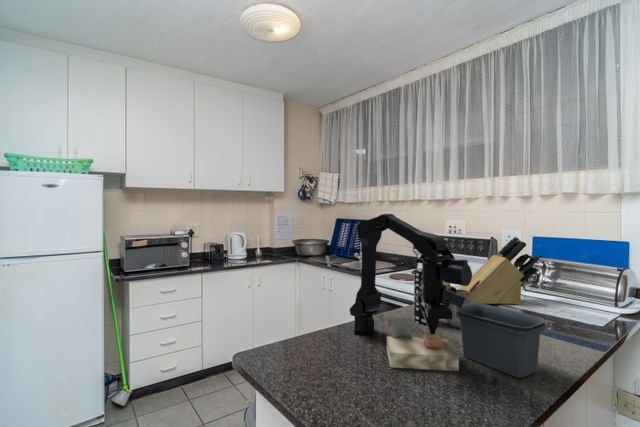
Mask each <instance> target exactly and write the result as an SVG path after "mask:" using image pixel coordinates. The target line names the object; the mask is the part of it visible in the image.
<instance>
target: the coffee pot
mask: <svg viewBox="0 0 640 427" xmlns="http://www.w3.org/2000/svg"><path fill="white" fill-rule="evenodd" d="M480 282H481V281H477V283H475V285H473V287H472V288H471V289H470V291H467V290H459V288H458V289H457V288H456V290H457V293H459V294H461V295H463V296H464V297H465V300H464V302H463V305H467V304H471V302H470V300H469V298H468V297H469V295H470V293H471V292H472V291H473V290H474V289H475V288H476V287H477V285H480V284H479V283H480ZM482 284H483V283H482ZM463 305H462V306H463ZM447 307H448V308H449V309H450V310H451V311H452V319H445V320H446V322H447V323H448V324H449V325H450V326H451V327H454V328H456V329H461V324H460V318H458V317H457V316H456V312H457V311H456V310H455V307H457V306H456V305H453V304H451V303H449V305H448V306H447Z"/></svg>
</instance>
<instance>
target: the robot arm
mask: <svg viewBox="0 0 640 427" xmlns="http://www.w3.org/2000/svg"><path fill="white" fill-rule="evenodd" d="M356 229H357V230H356V231H357V237H358V240H359V243H360V244H361V273H360V276H361V277H360V279H361V280H360V287H359V289H358V291H357V293H356V295H355V296H356V297H355V301H354V303H353V305H351V307H350V308H349V313H350V316H353V317H354V328H353V329H354V330H353V334H354V335H363V336H364V335H365V336H366V335H367V336H373V335H374V332H375V318H374V317H373V315H376V314H378V313H377V312H378V309H380V307H381V305H382V292H381V291H380V292H379V290H378V289H377V287H376V272H377V271H376V270H377V269H376V268H377V247H378V244H379V243H380V241H381V238H382V233H383V232H385V231H386V230H390V231H392V232H393V233H395V234H397V235H398V236H400V237H402V238H403V239H405V240H407V242H409V243H411V245H413V248H414V249H415V250H416V251H417V252H418V253H419V254H420V256H419V258H417V259H415V263H416V264H417V263H418V264H422V266H421V269H422V281H421V285H422V292H418V293H417V294H416V300H417V302H420V300H422V302H423V306H420V308H421V311H422V313H423V316H424V318H425V321H426V323H427V325H426V326H427V328H428V331H429V334H436V332H437V331H436V330H437V328H438V325H439V321H440V320H446V319H452V311H451V310H450V309H449V308H448V307H449V306H447V303H448V304H450V303H451V304H453V305H456V306H457V307H459V308H462V305H463V302H464V300H465V297H464V296H463V295H461V294H459V293H457V290H456V289H457V288H456V287H454V286H451V285H450V286H449V287H448V288H446V286H445V285H444V284H443V281H444V282H446V283H450V284H453V285H458V286H468V285H469V284H470V282H471V279H472V275H473V271H472V269H471V266H470V264H469V261H468V260H467V259H455V256H454V255H453V252H451V250H450V248H449V247H448V245H447V241H446V239H445V238H444V237H442V236H440V235H437V234H434V233H431V232H426V231H423V230H421V229H419V228H416V227H415V226H413V225H411V224H409V223H408V222H406V221H404V220H402V219H400V218H398V217H397V216H396V215H395V214H393V213H381V214H380V215H378V216H375V217H373V218H370V219H365V220H361V221H360V222H358V224H357V228H356ZM443 304H446V305H443Z"/></svg>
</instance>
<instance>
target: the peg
mask: <svg viewBox="0 0 640 427" xmlns="http://www.w3.org/2000/svg"><path fill="white" fill-rule="evenodd" d="M423 335H424V336H423V338H424V344H425V346H426V349H441V350H442V339H443V338H441V337H440V335H439V334H438V333H437V334H436V333H435V334H431V333H424V334H423Z"/></svg>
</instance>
